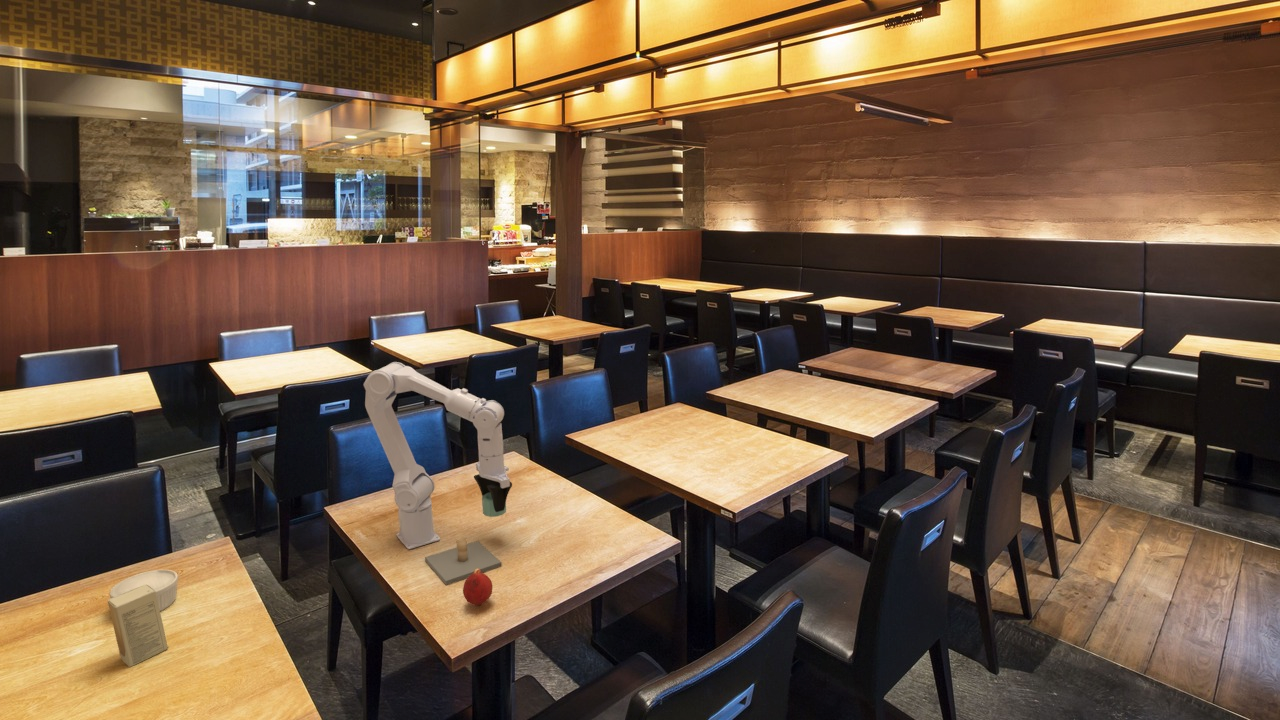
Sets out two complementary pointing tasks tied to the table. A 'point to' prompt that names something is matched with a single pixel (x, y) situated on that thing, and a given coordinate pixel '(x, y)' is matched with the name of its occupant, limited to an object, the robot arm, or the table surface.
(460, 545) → the beech post
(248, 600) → the table surface
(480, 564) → the grey board
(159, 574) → the ramekin
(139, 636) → the skincare box
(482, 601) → the onion
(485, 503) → the green ring
